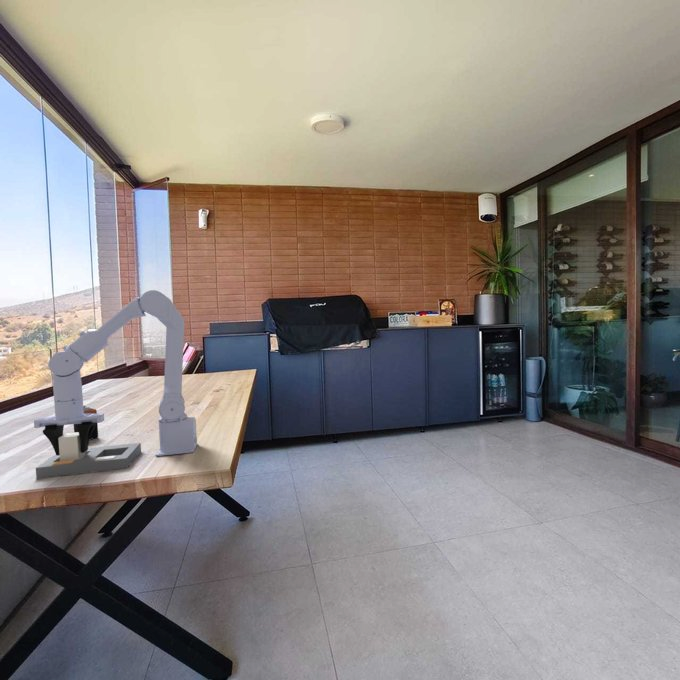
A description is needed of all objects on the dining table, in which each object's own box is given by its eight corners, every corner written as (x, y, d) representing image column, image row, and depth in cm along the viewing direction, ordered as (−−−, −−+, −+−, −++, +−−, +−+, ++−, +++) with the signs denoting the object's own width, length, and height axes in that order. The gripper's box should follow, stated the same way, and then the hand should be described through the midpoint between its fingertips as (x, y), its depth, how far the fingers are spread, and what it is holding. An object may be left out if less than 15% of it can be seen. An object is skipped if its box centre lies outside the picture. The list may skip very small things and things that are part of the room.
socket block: (141, 451, 101) (140, 442, 100) (127, 468, 89) (126, 457, 89) (62, 459, 96) (61, 449, 96) (36, 478, 84) (35, 467, 84)
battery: (89, 434, 119) (87, 404, 118) (99, 437, 115) (97, 406, 114) (73, 438, 115) (71, 407, 114) (83, 441, 111) (81, 409, 111)
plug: (86, 461, 94) (84, 431, 94) (79, 467, 90) (77, 436, 90) (68, 463, 93) (66, 433, 93) (60, 469, 89) (58, 437, 89)
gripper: (24, 405, 85) (29, 462, 86) (94, 400, 88) (98, 454, 89) (41, 399, 92) (45, 451, 92) (106, 394, 95) (109, 445, 96)
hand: (72, 452), depth 91 cm, fingers open, 5 cm apart
